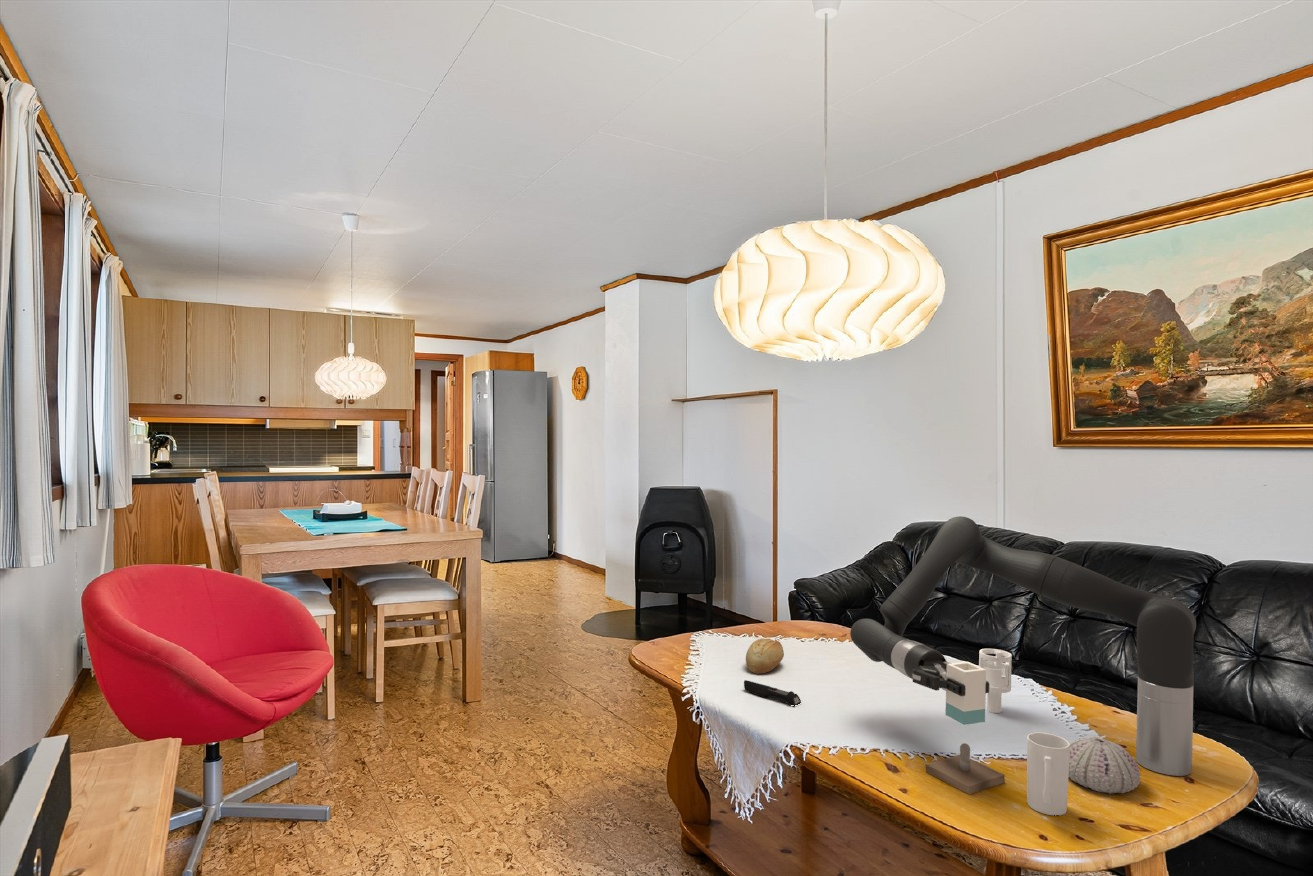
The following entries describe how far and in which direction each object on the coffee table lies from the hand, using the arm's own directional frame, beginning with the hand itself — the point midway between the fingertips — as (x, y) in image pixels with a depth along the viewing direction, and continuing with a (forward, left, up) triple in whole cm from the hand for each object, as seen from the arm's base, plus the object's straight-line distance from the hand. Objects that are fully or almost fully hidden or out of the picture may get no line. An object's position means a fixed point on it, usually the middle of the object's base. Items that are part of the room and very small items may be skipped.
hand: (975, 689), depth 141 cm
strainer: (-35, -22, -18) cm, 46 cm away
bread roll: (-5, -73, -18) cm, 75 cm away
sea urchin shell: (-22, +11, -18) cm, 31 cm away
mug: (-3, +13, -18) cm, 22 cm away
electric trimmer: (+7, -53, -18) cm, 57 cm away
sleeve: (0, -3, -6) cm, 7 cm away
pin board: (0, -2, -18) cm, 18 cm away
